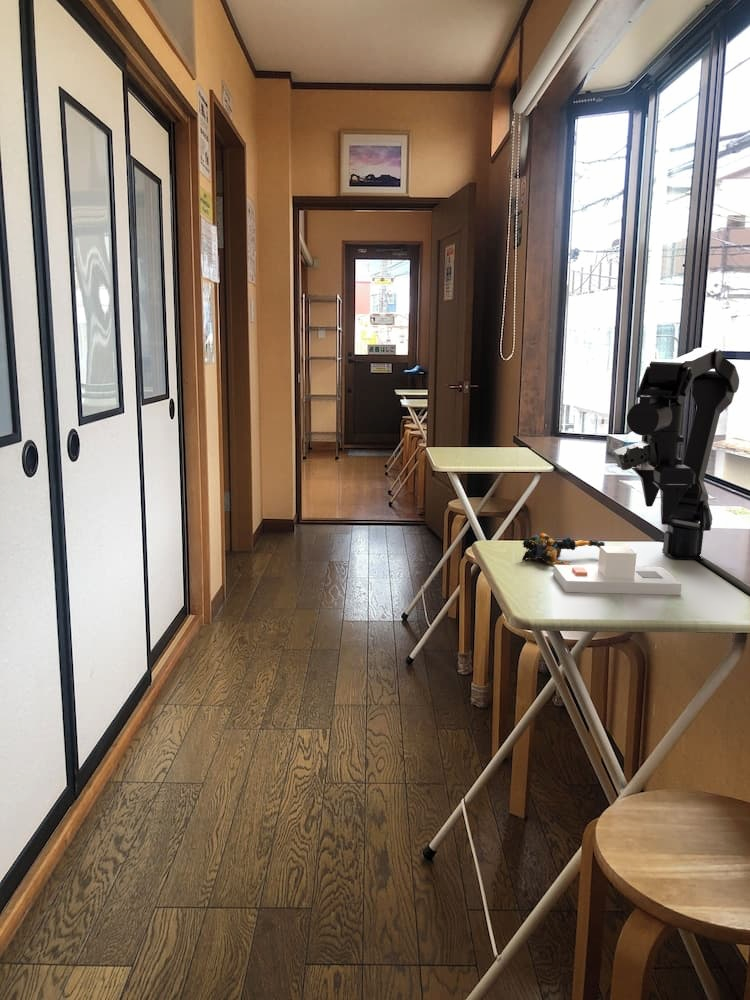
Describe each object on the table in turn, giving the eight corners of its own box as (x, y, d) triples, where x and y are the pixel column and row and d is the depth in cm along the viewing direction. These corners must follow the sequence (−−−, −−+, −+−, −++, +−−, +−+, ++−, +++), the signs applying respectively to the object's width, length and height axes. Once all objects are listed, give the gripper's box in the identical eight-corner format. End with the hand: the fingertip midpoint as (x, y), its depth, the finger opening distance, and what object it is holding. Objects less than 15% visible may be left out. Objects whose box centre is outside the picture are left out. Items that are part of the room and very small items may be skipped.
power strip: (660, 577, 151) (662, 564, 151) (680, 594, 141) (682, 580, 141) (553, 575, 151) (554, 561, 150) (565, 592, 141) (566, 577, 141)
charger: (625, 581, 148) (628, 546, 147) (633, 589, 144) (636, 553, 143) (596, 580, 148) (599, 545, 147) (603, 588, 144) (606, 552, 143)
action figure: (605, 559, 164) (588, 576, 151) (533, 548, 171) (510, 563, 158) (608, 532, 163) (590, 547, 150) (535, 521, 170) (512, 535, 157)
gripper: (606, 422, 158) (600, 500, 161) (635, 436, 140) (628, 524, 143) (663, 422, 158) (656, 500, 161) (700, 437, 140) (692, 525, 143)
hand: (656, 512), depth 152 cm, fingers open, 9 cm apart
